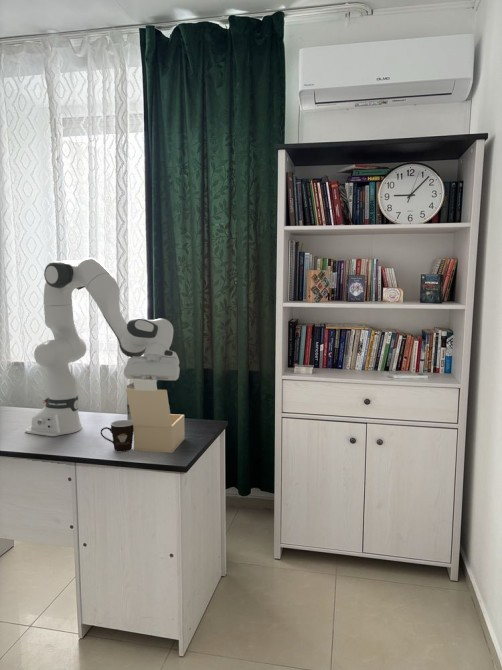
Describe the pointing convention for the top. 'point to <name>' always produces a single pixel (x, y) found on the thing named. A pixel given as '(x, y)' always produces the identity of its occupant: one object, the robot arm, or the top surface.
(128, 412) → the coffee box
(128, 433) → the coffee mug
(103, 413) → the top surface
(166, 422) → the flap
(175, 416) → the carton
